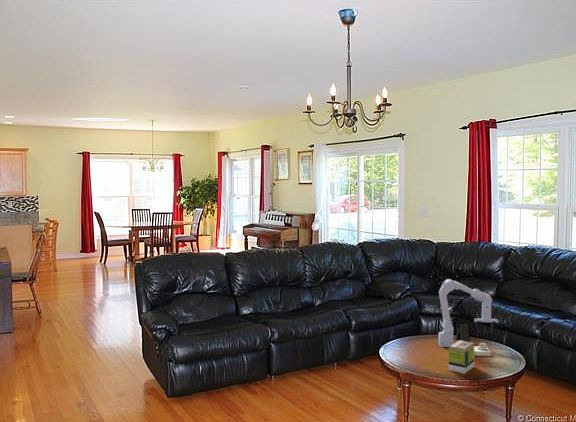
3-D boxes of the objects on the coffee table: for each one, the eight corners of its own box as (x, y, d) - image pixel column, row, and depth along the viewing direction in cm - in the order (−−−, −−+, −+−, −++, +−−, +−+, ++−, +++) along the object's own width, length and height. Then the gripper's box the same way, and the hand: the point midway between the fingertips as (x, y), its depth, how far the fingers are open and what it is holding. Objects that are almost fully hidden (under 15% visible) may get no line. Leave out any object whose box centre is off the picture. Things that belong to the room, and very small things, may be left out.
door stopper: (470, 343, 364) (470, 325, 363) (462, 343, 363) (462, 326, 362) (462, 339, 373) (463, 322, 372) (455, 340, 371) (455, 322, 370)
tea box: (458, 363, 324) (458, 339, 323) (474, 367, 318) (475, 342, 317) (448, 370, 313) (448, 345, 312) (464, 374, 306) (465, 348, 305)
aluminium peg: (479, 353, 342) (480, 344, 341) (478, 351, 345) (478, 342, 345) (486, 353, 341) (486, 344, 341) (484, 351, 345) (485, 342, 345)
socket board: (464, 355, 339) (464, 351, 339) (460, 349, 350) (461, 345, 350) (490, 356, 337) (490, 352, 337) (486, 350, 348) (486, 346, 348)
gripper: (476, 313, 350) (475, 334, 351) (499, 314, 348) (498, 335, 349) (473, 311, 357) (473, 331, 358) (496, 311, 355) (495, 332, 356)
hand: (485, 333), depth 354 cm, fingers open, 7 cm apart
